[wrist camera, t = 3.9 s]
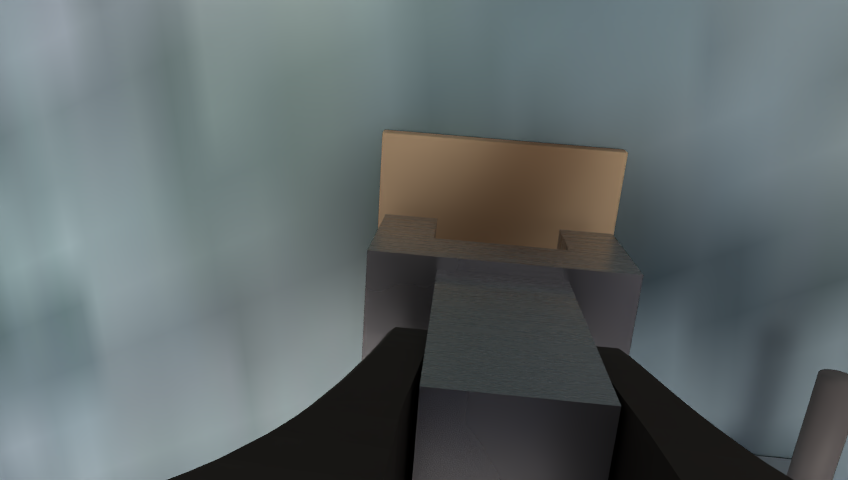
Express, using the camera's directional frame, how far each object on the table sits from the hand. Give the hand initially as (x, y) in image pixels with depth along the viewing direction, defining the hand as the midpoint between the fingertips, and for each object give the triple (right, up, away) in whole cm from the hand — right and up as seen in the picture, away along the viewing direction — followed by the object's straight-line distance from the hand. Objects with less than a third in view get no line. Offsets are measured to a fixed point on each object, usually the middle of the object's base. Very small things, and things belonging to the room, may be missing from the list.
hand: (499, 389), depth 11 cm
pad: (0, +2, +6) cm, 7 cm away
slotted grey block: (0, +1, +4) cm, 5 cm away
